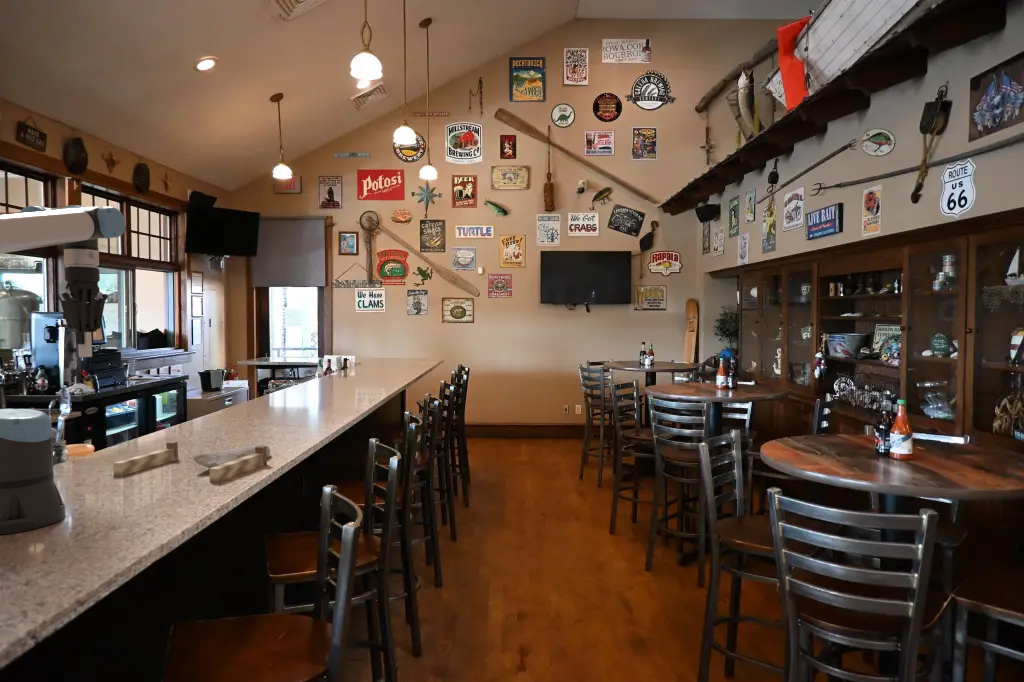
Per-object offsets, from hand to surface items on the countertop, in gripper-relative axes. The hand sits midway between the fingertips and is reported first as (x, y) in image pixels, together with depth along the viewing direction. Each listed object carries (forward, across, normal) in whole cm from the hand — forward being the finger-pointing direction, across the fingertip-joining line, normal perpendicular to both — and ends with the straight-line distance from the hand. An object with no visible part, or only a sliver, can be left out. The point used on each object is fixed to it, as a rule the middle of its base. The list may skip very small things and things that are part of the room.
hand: (85, 356), depth 163 cm
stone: (+33, +23, -28) cm, 49 cm away
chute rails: (+32, +14, -20) cm, 41 cm away
